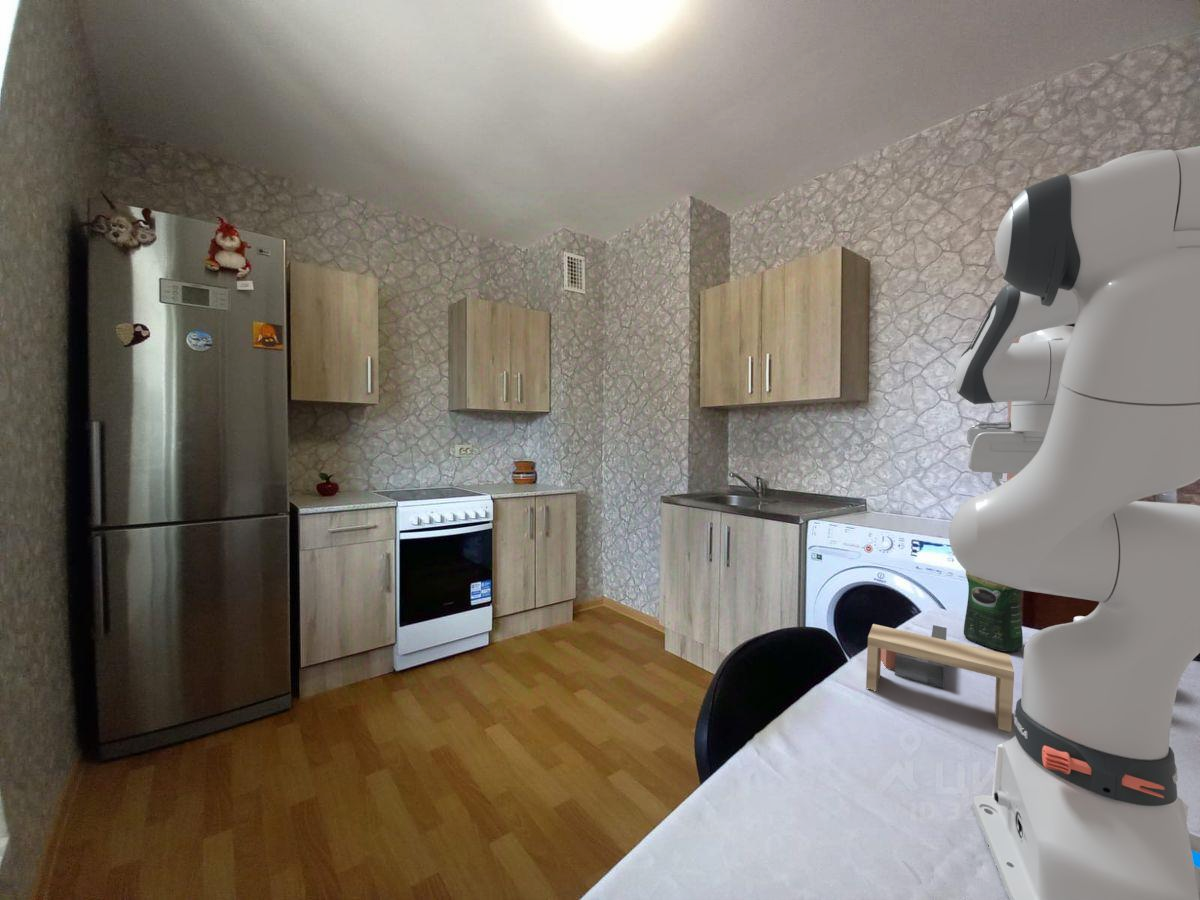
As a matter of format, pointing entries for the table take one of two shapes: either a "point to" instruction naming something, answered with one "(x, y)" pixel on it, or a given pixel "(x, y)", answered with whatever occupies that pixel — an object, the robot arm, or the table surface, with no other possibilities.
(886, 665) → the block
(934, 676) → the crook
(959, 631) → the table surface
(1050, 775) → the robot arm
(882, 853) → the table surface
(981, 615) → the coffee jar
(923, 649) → the bridge
